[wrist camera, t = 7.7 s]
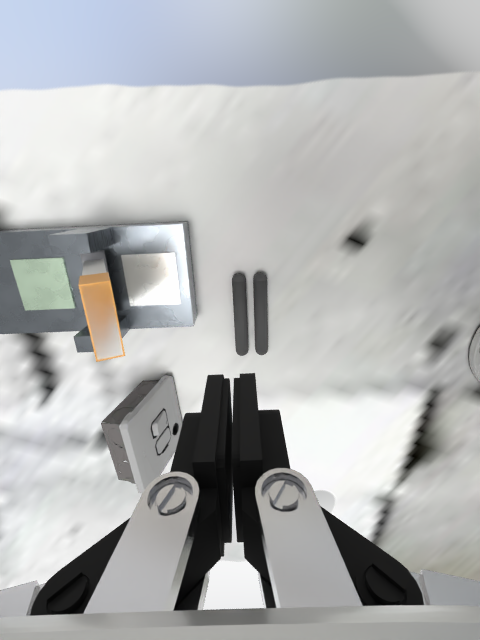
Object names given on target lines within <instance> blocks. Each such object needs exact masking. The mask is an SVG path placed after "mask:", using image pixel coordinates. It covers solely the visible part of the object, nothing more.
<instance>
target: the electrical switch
mask: <svg viewBox="0 0 480 640" xmlns="http://www.w3.org/2000/svg"><path fill="white" fill-rule="evenodd" d="M102 422H105V423H101V425H102V428H103V431H104V435H105V438H106V441H107V444H108V447H109V450H110V454H111V457H112V460H113V463H114V466H115V469H116V472H117V476H118V479H119V480H124V481H129V482H131V483H134V484H136V487H137V491H138V493H143V492H144V490H145V489H146V487H147V486H148V485H149V484H150V483H151V482H152V481H153V480H154V479H155V478H157V477H159V476H160V475H161V473H162V471H163V470H164V468H165V467H166V465H167V463H168V462H169V460H170V459H171V457H172V455H173V454H174V452H175V451H176V447H177V443H178V439H179V435H180V431H181V427H182V419H181V414H180V409H179V404H178V399H177V394H176V389H175V385H174V380H173V377H172V376H168V375H164V376H163V377H161V379H160V380H159V381H143V382H141V383H140V384H139V385H138V386H137V387H136V388H135V389H134V390H133V391H132V392H131V393H130V394H129V395H128V396H127V397H126V398H125V399H124V400H123V401H122V402H121V403H120V404H119V405H118V406H117V407H116V408H115V409H114V410H113V411H112V412H111V413H110V414H109V415H108V416H107V417H106V418H105V419H104V420H103V421H102ZM109 423H110V424H109ZM125 460H126V461H127V462H129V463H127V462H123V461H125ZM119 464H120V465H119ZM129 464H130V465H129ZM120 472H121V473H120Z"/></svg>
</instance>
